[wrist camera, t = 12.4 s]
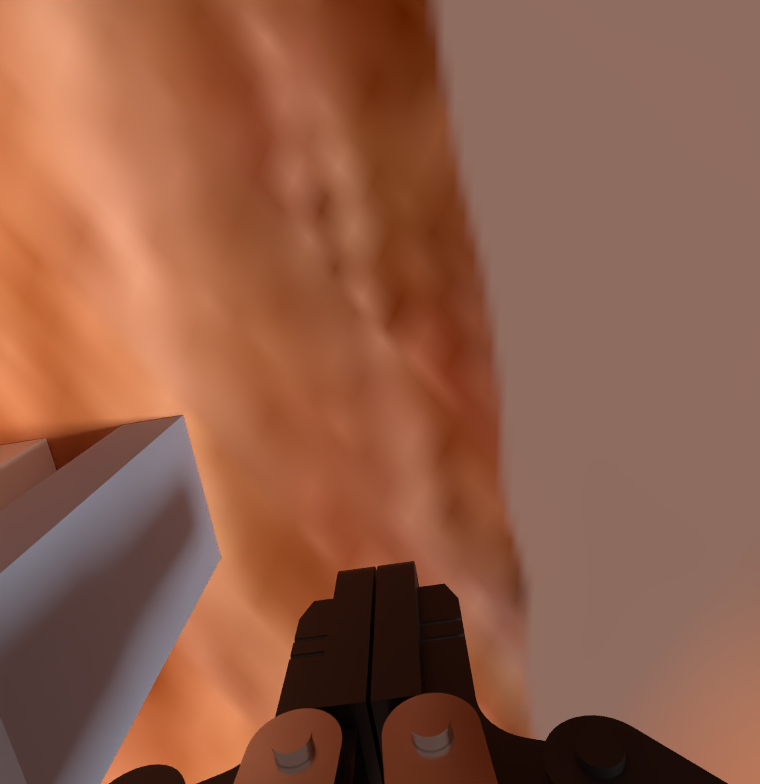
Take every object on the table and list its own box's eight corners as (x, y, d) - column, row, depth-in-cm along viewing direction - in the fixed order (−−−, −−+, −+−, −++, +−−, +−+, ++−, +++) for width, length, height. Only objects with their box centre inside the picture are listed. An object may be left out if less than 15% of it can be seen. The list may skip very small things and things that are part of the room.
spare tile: (221, 557, 20) (58, 862, 10) (162, 565, 20) (-52, 875, 10) (183, 415, 19) (-43, 610, 9) (121, 425, 19) (-166, 628, 9)
